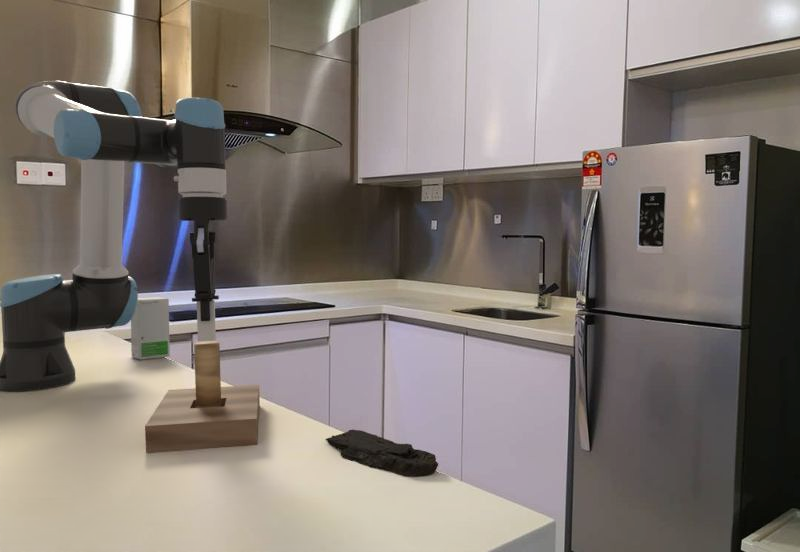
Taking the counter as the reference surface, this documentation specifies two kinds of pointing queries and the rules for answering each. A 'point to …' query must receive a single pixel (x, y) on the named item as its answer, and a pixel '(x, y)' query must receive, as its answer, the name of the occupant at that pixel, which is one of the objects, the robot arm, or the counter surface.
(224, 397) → the seat board
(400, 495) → the counter surface
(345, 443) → the black flat rough slab
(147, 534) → the counter surface
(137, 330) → the skincare box
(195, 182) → the robot arm
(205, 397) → the oak dowel
